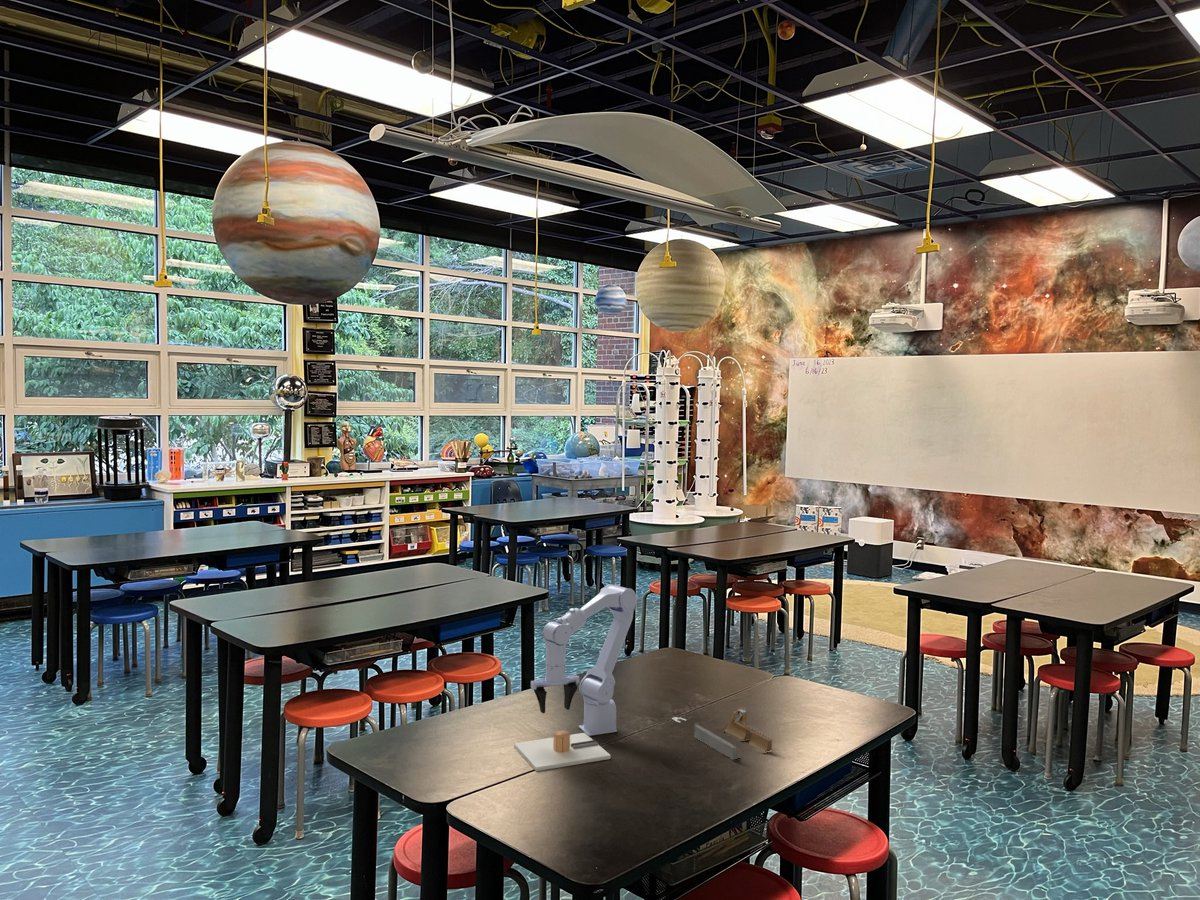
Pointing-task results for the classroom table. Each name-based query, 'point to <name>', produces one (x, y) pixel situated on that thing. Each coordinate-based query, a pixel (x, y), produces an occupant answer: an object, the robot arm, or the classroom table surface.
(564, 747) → the wire nut
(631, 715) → the classroom table surface
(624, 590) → the robot arm
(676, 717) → the paper
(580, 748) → the plate
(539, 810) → the classroom table surface
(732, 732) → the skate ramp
